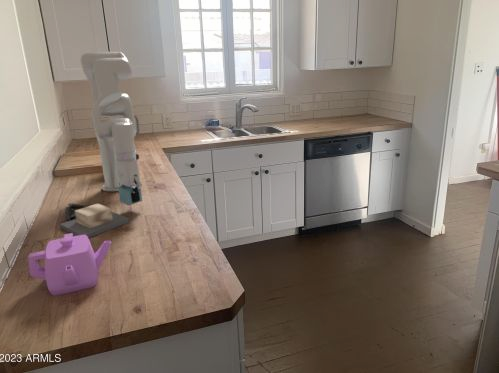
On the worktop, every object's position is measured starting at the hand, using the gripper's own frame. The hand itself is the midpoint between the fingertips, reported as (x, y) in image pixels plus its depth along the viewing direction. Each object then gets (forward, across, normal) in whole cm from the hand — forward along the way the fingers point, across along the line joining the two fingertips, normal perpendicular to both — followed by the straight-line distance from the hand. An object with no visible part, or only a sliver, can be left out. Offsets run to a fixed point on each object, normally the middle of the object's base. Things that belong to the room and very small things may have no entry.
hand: (130, 199), depth 154 cm
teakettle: (+4, +31, -39) cm, 50 cm away
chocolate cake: (+5, -11, -16) cm, 20 cm away
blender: (+7, -53, +35) cm, 64 cm away
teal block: (+1, 0, 0) cm, 1 cm away
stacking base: (+5, +1, -16) cm, 17 cm away
